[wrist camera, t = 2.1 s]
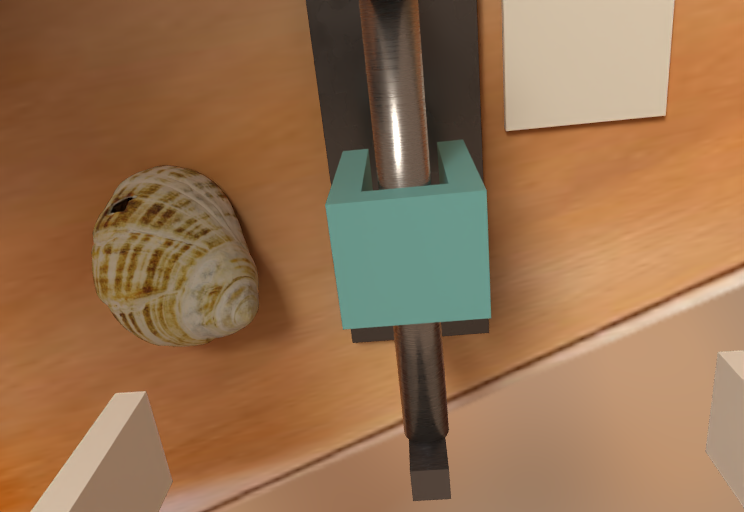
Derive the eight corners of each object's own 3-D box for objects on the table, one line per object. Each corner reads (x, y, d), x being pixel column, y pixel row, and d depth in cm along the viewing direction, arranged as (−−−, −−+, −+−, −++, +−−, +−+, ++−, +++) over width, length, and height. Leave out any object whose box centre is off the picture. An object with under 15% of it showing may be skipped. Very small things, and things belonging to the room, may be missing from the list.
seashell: (100, 144, 37) (116, 208, 29) (254, 172, 42) (303, 233, 34) (75, 292, 40) (83, 385, 32) (220, 301, 45) (258, 385, 37)
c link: (342, 151, 29) (325, 205, 22) (463, 139, 29) (486, 190, 21) (355, 249, 31) (343, 329, 24) (467, 239, 31) (491, 317, 23)
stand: (301, -57, 33) (220, -100, 18) (470, -78, 32) (538, -142, 17) (353, 333, 42) (330, 526, 27) (486, 323, 42) (539, 515, 26)
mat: (500, -60, 33) (502, -61, 32) (675, -81, 32) (680, -83, 31) (504, 129, 36) (506, 131, 36) (661, 113, 36) (665, 115, 35)
